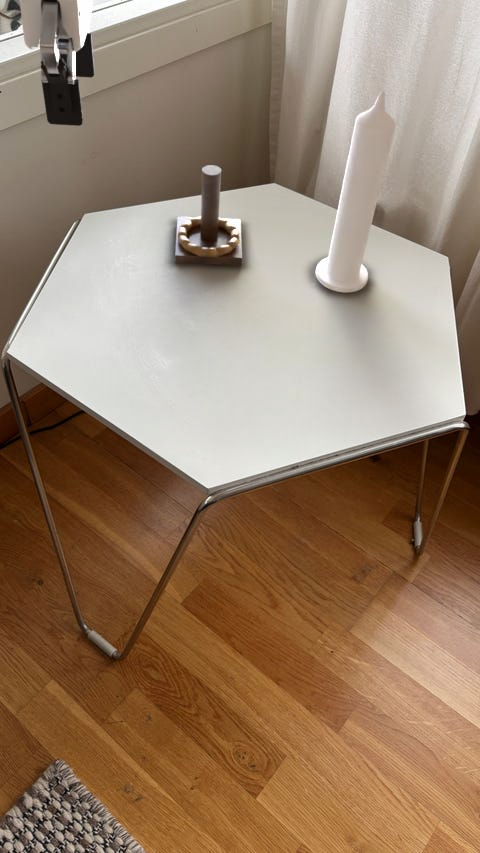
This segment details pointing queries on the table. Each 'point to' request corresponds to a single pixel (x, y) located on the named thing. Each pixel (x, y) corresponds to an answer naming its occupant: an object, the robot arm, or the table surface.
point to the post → (209, 225)
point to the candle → (358, 200)
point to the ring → (208, 251)
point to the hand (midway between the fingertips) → (72, 98)
